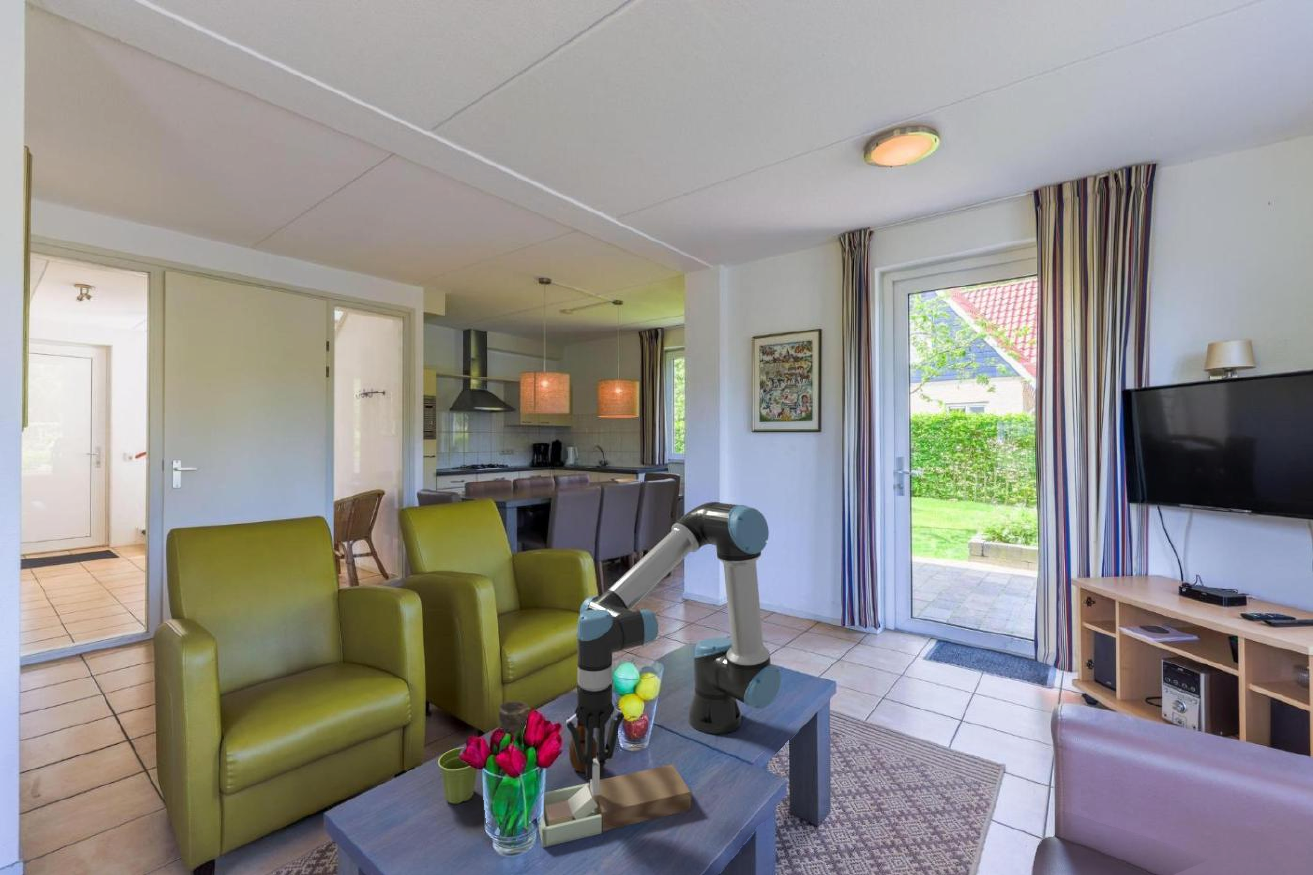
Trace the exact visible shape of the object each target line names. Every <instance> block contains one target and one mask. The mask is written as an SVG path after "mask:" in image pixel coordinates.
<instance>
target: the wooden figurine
mask: <svg viewBox="0 0 1313 875" xmlns="http://www.w3.org/2000/svg"><path fill="white" fill-rule="evenodd" d="M577 723H578V725H577V727H576V729H577V732H578V736H579V740H580V744H581V748H582V752H583V755H585V727H584V726H583V724H582V723H581V722H580V721H579V720H577ZM568 746H569V748H568V749H569V761H570V764H571V767H572V768H573V769H574V770H575V771H577V772H583V773H584V772H586V764H583V765H581V764H580V763H579V761H578V758H577V755H576V751H575V747H574V743H573V739H572V738H571V740H570V742H569V745H568ZM595 758H597V739H596V738H595V737H594V736H593V759H595Z"/></svg>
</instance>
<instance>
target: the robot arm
mask: <svg viewBox="0 0 1313 875" xmlns="http://www.w3.org/2000/svg"><path fill="white" fill-rule="evenodd" d="M769 532H770V531H769V525H768V522H767V520H766V518H765V516H764V514H763V513H762V512H761V511H759V510H758V509H756V508H754V507H750V506H747V505H745V504H734V503H732V504H731V503H725V502H724V503H723V502H718V501H710V502H705V503H702V504H701V505H697V507H694V508H693V509H691V510H690V511H688V512H686V513H685V514H684V515H683V516H681V517H680V518H679V519H678V520H677V521H676V522H675V523H673V525H672V526H671V531H670V532H669V533H668V534H667V535H666V536H664V538H663V539H661V541H659V542H658V543H656V545H655V546H653V548H651V549H650V551H648V553H646V554H645V555H644V556H643V557H642V558H641V559H640V560H638V561H637V563H635V565H633V566H632V567H631V568H630V569H629V570H628V571H626V572H625V573H624V574H623V575H622V576H621V577H620V578H618V580H617V581H616V582H615V583H613V585H611V587H609V588H608V589H607V590H606V591H605V592H604V593H603V594H601V595H600V596H599V595H598V596H597V595H592V596H590V597H589V596H588V597H587V598H585V599H584V601H583V602H582V603H581V605H580V610H579V616H578V618H577V630H576V637H577V643H576V644H577V645H576V646H577V648H576V649H577V680H576V681H577V691H576V692H577V697H576V698H577V703H576V704H577V705H576V708H575V711H574V714H573V715H572V716H570V717H566V718H565V719H564V721H565V722H564V723H565V726H566V727H567V729H568V731H570V734H571V740H572V739H573V743H574V747H575V751H576V755H577V758H578V761H579V763H580V764H581V765H583V764H586V771H585V777H586V778H587V781H589V788H590V790H591V792H592V795H593V796H596V795H600V780H601V778H603V777H604V775H605V764H606V761H607V760H611V759H612V758H613V755H614V752H615V748H616V747H615V746H616V744H617V743H616V742H617V737H618V734H619V729H620V726H621V723H622V721H623V719H624V717H625V714H624V713H623V711H622V710H621V709H620V708H615V706H614V704H613V685H612V682H613V654H615V653H617V652H621V651H624V650H628V649H633V648H637V647H640V646H645V645H646V644H649V643H652V642H653V641H655V640H656V639H657V638H658V634H659V622H658V619H657V617H656V615H655V613H654V612H653V611H652V610H650V609H648V608H647V609H637V610H636V611H633V610H632V609H633V608H634V607H635V606H636V605H637V604H638V603H639V602H640V601H641V600H642V599H644V597H645V596H646V595H648V593H649V592H651V591H652V589H654V587H656V585H658V584H659V583H660V581H662V580H663V579H664V578H666V576H667V575H668V574H669V573H670V572H671V571H673V569H674V568H675V567H676V566H678V565H679V563H680V562H682V561H683V560H684V559H685V557H687V556H688V555H689V554H690V553H696V552H697V551H698V550H699V549H701V548H702V547H703V546H707V545H713V546H715V547H716V556H717V557H716V558H717V559H718V560H719V561H720V562H722V563H723V570H724V571H723V572H724V583H725V592H726V594H725V596H726V602H727V603H726V604H727V615H728V626H729V627H728V628H729V638H727V637H713V638H712V637H711V638H705V639H703V640H700V641H698V642H697V643H696V645H695V648H694V656H693V659H694V660H693V663H694V693H693V698H692V700H691V702H690V706H689V710H688V723H689V724H690V725H691V726H692V727H693V728H694V729H696V730H698V731H701V732H704V733H707V734H716V735H717V734H718V735H720V734H728V733H731V732H734V731H736V730H737V729H738V728H739V727H741V724H742V713H741V710H740V707H739V704H738V701H739V702H741V703H744V704H745V705H746V706H747V707H749V706H750V707H753V708H754V709H758V710H759V709H765V708H767V707H768V706H770V705H771V704H772V702H773V701H774V700H776V697H777V695H778V693H779V692H780V688H781V684H782V674H781V672H780V669H779V668H777V666H775V665H773V664H771V654H770V653H771V652H770V651H769V649H768V648H767V647H766V646H764V640H763V637H764V636H763V627H762V617H761V604H760V595H759V594H760V593H759V581H758V569H757V560H758V559H759V558H761V556H762V551H763V550H764V549H765V547H766V546H767V541H769ZM610 719H611V720H610ZM577 720H579V721H580V722H581V723H582V724H583V726H584V727H585V755H583V752H582V748H581V744H580V740H579V736H578V732H577V729H576V727H577V725H578V723H577ZM609 720H610V725H609V729H608V733H607V738H606V736H605V732H606V724H607V723H608V721H609ZM595 729H596V743H597V755H596V758H595V759H593V737H594V732H595V731H594V730H595ZM605 739H606V741H605Z"/></svg>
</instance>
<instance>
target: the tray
mask: <svg viewBox="0 0 1313 875" xmlns="http://www.w3.org/2000/svg"><path fill="white" fill-rule="evenodd" d="M586 784H587V785H588V787H589V788H590V782H588V783H583V784H578V785H573V786H568V787H564V788H563V787H562V788H559V789H555V790H549V791H544V792H545V800H544V817H543V815H542V818H541V820H540V827H539V829H538V833H539V838H540V842H541V846H542V848H548V847H551V846H554V845H555V846H556V845H559V844H563V843H568V842H571V841H576V840H580V839H584V838H588V837H592V836H595V835H599V834H600V835H601V834H602V832H603V830H602V816H601V814H599V815H597V814H596V812H595V809H594V810H593V811H592V812H591V813H590V814H589V815H587V816H586V817H585V818H582V819H578V820H576V819H575V818H574V816H573V815H572V821H569V822H565V823H560V824H556V825H552V826H547V824H546V820H545V805H550V804H554V803H559V802H563V801H568V800H569V799H570V798H571V797H572V796H573V795H574V794H576V793H577V792H578V791H579V790H580V789H582V788H583V787H584V786H585V785H586Z"/></svg>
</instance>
